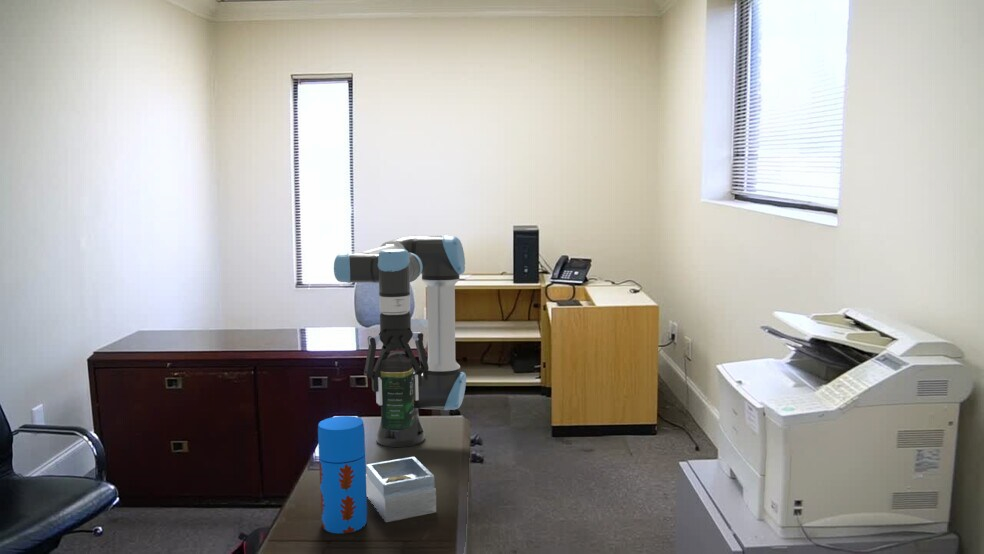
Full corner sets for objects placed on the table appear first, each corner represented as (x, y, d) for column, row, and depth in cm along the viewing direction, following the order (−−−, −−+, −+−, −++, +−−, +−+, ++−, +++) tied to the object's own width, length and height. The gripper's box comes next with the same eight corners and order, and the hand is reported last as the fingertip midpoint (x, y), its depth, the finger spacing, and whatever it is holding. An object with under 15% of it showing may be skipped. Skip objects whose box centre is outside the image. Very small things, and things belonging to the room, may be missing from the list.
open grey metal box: (413, 487, 204) (412, 455, 203) (436, 512, 189) (435, 477, 188) (366, 496, 199) (365, 463, 198) (385, 522, 184) (384, 486, 183)
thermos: (326, 537, 176) (322, 432, 173) (317, 518, 186) (313, 419, 183) (372, 528, 181) (369, 426, 177) (361, 510, 190) (358, 413, 187)
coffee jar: (410, 432, 186) (408, 358, 184) (378, 432, 187) (375, 358, 185) (417, 420, 196) (415, 349, 194) (387, 419, 197) (385, 349, 194)
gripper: (356, 318, 180) (359, 411, 183) (441, 310, 189) (443, 399, 192) (348, 313, 187) (351, 403, 190) (430, 306, 196) (432, 392, 199)
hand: (397, 401), depth 191 cm, fingers closed on coffee jar, 9 cm apart
